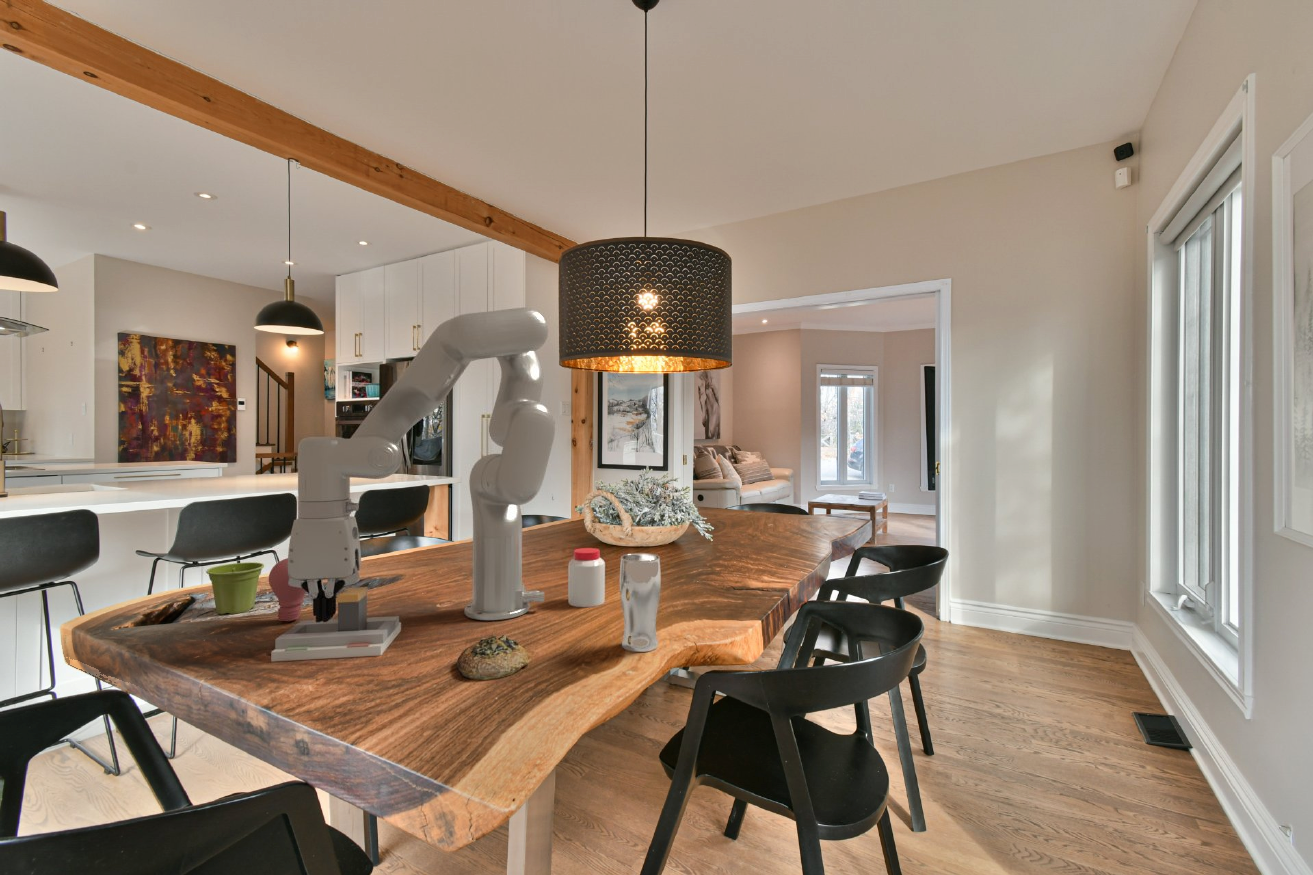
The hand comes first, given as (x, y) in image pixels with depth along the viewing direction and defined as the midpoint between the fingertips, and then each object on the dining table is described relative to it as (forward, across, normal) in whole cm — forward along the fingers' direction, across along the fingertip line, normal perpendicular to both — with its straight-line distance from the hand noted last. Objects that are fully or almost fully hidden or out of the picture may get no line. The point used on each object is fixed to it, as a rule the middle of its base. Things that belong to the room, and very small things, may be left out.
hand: (324, 619), depth 97 cm
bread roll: (+5, -29, +13) cm, 32 cm away
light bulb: (+5, +12, -15) cm, 19 cm away
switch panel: (+4, -3, 0) cm, 5 cm away
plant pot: (+5, +26, -24) cm, 35 cm away
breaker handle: (+3, -4, 0) cm, 5 cm away
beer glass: (+5, -52, +8) cm, 53 cm away
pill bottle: (+5, -44, -19) cm, 49 cm away
